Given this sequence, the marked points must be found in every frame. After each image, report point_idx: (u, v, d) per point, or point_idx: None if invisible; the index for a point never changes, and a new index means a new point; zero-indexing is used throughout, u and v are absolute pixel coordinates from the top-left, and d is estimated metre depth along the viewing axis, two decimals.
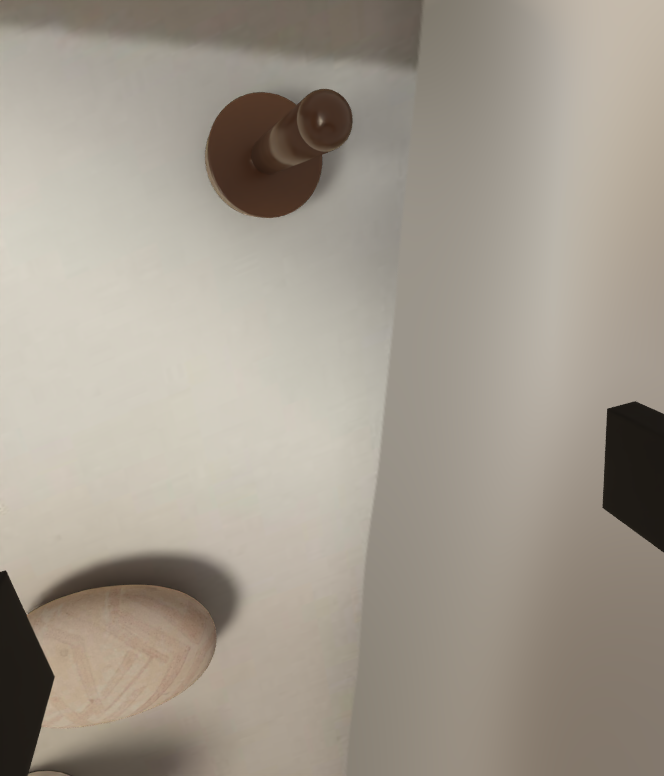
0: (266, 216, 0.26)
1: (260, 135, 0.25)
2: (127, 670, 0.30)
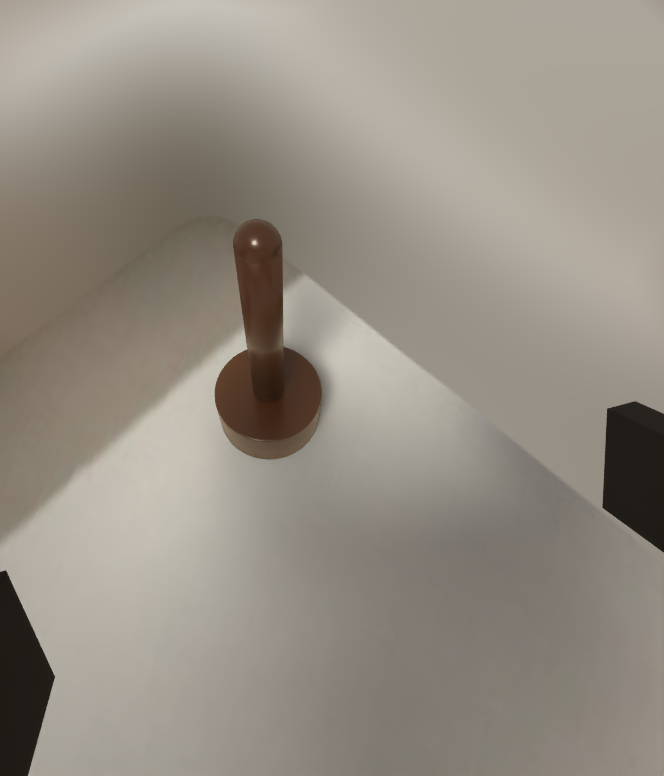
0: (307, 423, 0.27)
1: (251, 384, 0.28)
2: None
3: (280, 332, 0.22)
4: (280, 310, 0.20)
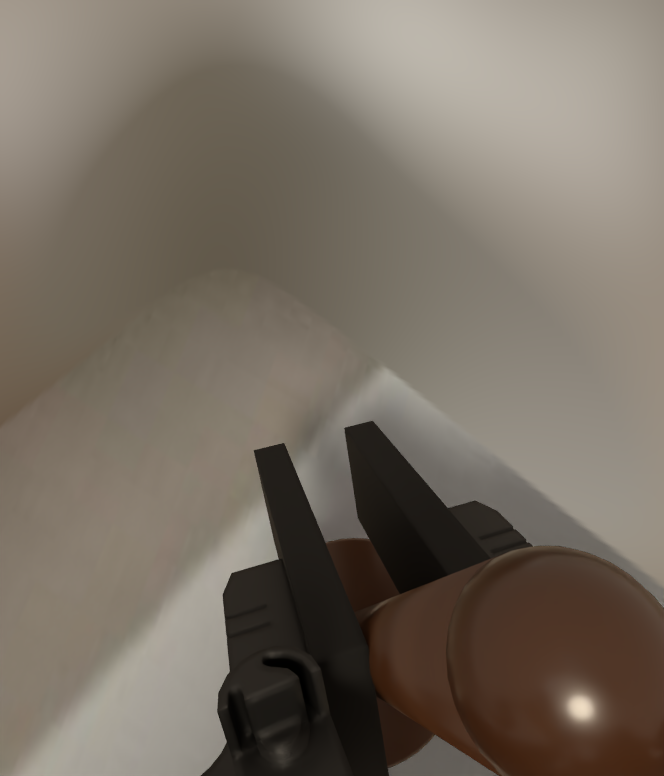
0: None
1: None
2: None
3: None
4: None
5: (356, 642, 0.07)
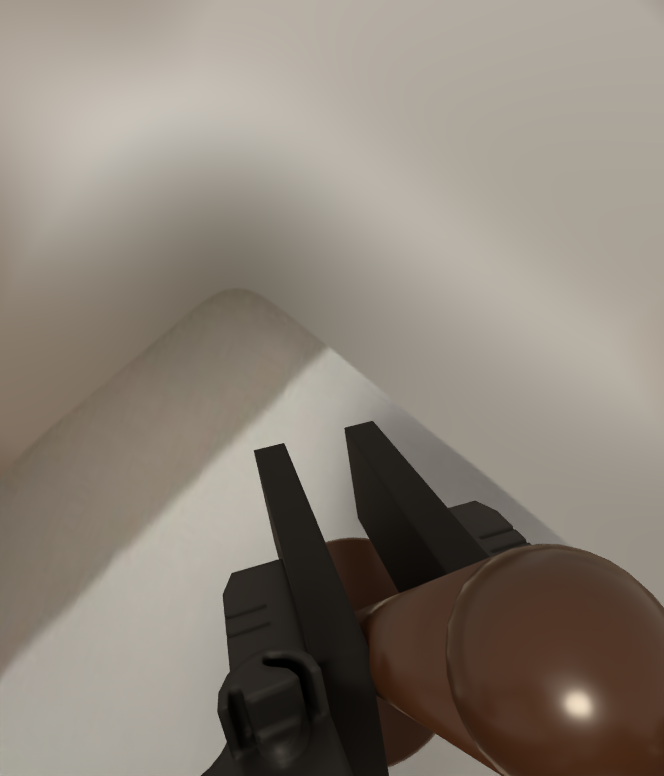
0: None
1: None
2: None
3: None
4: None
5: (356, 642, 0.07)
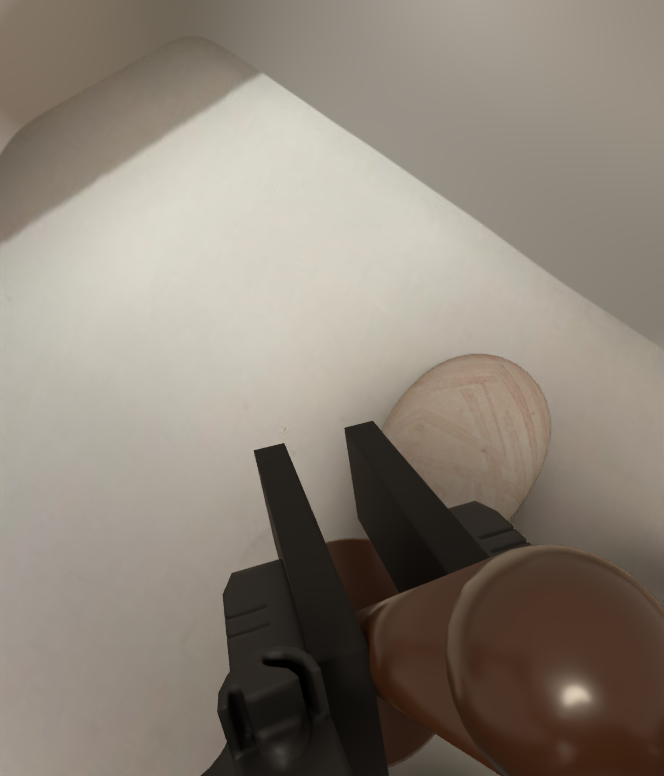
0: None
1: None
2: (478, 404, 0.30)
3: None
4: None
5: (356, 642, 0.07)
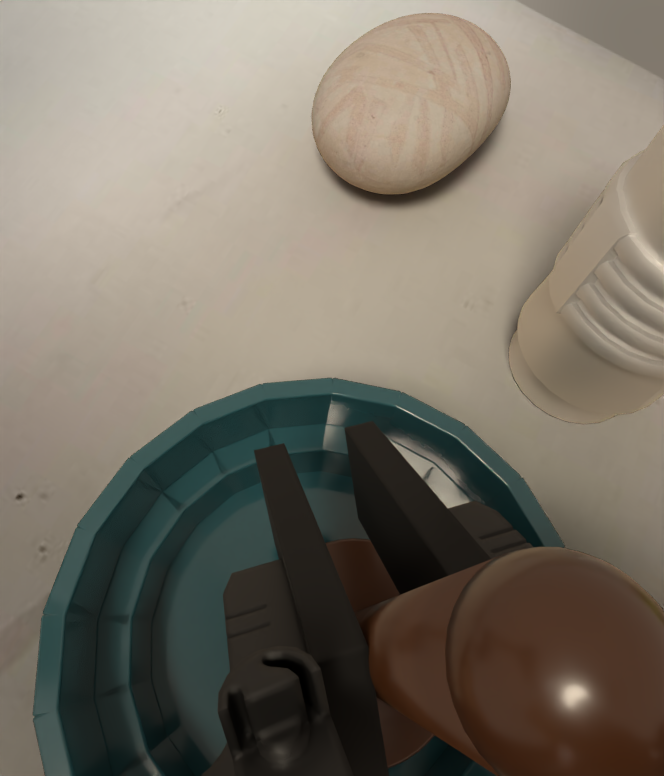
0: None
1: None
2: (426, 36, 0.26)
3: None
4: None
5: (356, 642, 0.07)
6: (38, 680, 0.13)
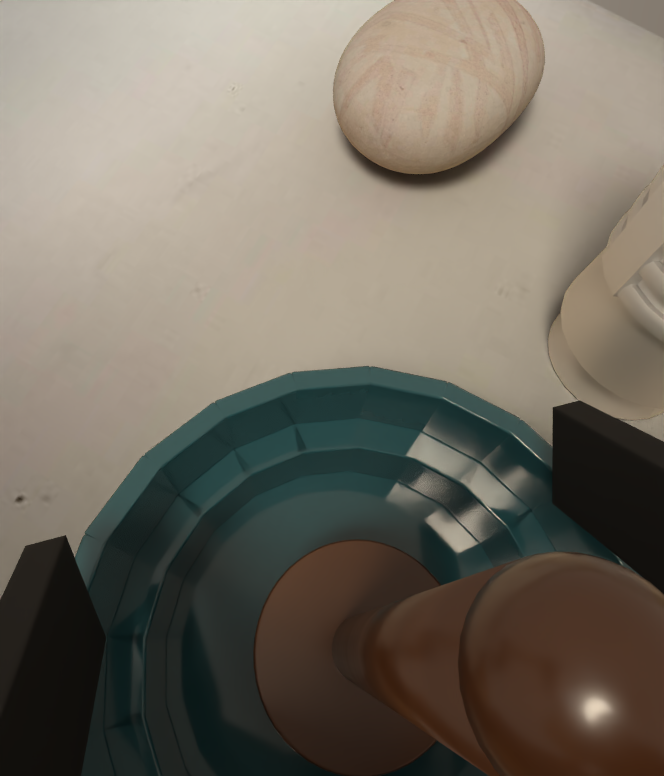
0: None
1: (326, 632, 0.14)
2: (456, 5, 0.25)
3: None
4: None
5: None
6: None
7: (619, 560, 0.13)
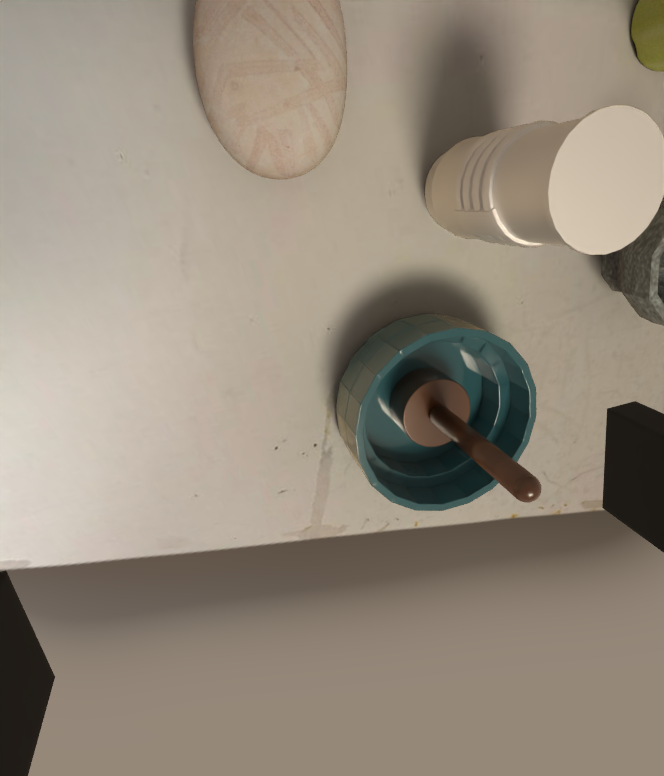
0: (469, 411, 0.41)
1: (425, 418, 0.40)
2: (265, 21, 0.28)
3: None
4: None
5: None
6: (385, 495, 0.39)
7: (504, 349, 0.38)
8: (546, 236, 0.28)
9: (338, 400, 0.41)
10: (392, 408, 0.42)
